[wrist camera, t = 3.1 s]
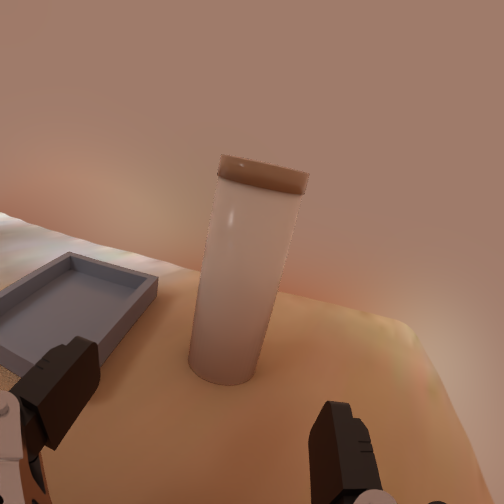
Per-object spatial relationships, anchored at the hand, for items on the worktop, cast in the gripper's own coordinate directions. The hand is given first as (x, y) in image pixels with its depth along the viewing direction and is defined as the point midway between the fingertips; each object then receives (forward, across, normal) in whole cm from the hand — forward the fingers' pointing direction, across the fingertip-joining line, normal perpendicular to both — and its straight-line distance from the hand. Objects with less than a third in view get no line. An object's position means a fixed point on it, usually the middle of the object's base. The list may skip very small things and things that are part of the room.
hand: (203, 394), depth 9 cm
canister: (+11, 0, +7) cm, 13 cm away
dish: (+10, +13, +7) cm, 18 cm away
